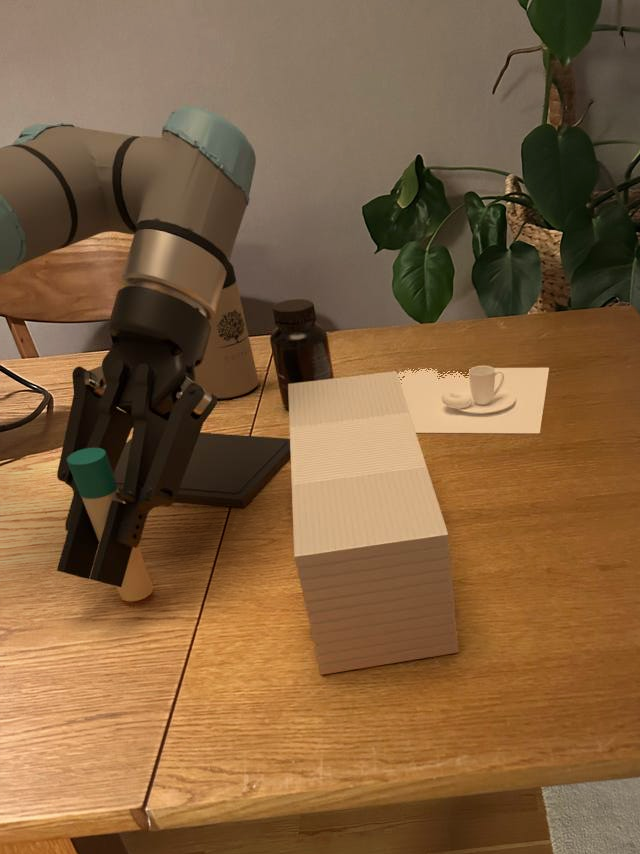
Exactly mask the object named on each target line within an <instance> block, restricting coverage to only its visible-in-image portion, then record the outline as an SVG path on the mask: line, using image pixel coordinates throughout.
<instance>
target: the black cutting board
mask: <svg viewBox="0 0 640 854" xmlns="http://www.w3.org/2000/svg"><path fill="white" fill-rule="evenodd" d="M131 440H132V438H130V439H129V440H127V442H126V444H125V447H124V449H123V451H122V454H121V456H120V459H119V461H118V464H117V466H116V469H115V471H114V473H113V474H114V477H115V479H116V482H117V487H118V490H119V492H123V488H124V482H125V476H126V470H127V464H128V458H129V452H130V446H131ZM289 460H291V453H290V438H287V437H272V436H271V437H270V436H259V435H257V436H256V435H243V434H242V435H241V434H230V433H229V434H227V433H216V432H215V433H213V432H200V434H199V437H198V439H197V442H196V445H195V447H194V450H193V453H192V455H191V458H190V461H189V464H188V466H187V469H186V472H185V474H184V477H183V480H182V483H181V485H180V488H179V491H178V493H177V496H176V499H175V501H174V503H185V504H197V505H205V506H206V505H207V506H217V507H228V508H240V509H245V508H246V507H247V506H248V505H249V504H250V503H251V502H252V501H253V499H254V498H255V497H256V496H257V495H258V494H259V493H260V492H261V491H262V489H264V487H265V486H266V485H267V484H268V483H269V482H270V481H271V480H272V479H273V478H274V477H275V475H277V473H278V472H279V471H281V469H282V468H283V467H284V466H285V465H286V464H287V463H288V461H289ZM162 488H163V487H161V489H162Z"/></svg>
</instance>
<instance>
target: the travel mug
mask: <svg viewBox="0 0 640 854" xmlns="http://www.w3.org/2000/svg"><path fill="white" fill-rule="evenodd" d="M209 323H210V326H211V333H210V336H209V340H208V343H207V347H206V351H205V354H204V358H203V361H202V363H201V364H200V365H199V366H197V367H194V371H195V378H196V379H195V383H196V384H198V385H200V386H201V387H202V388H204V389H205V390H207V391H208V392H210V393H211V394H213V395H214V396H216V397H217V400H226V399H232V398H238V397H240V396H243V395H247V394H248V393H250V392H251V391H252V390H254V389H255V388H257V387H258V385H259V383H260V382H259V375H258V371H257V367H256V363H255V359H254V354H253V350H252V345H251V341H250V335H249V331H248V327H247V323H246V318H245V314H244V309H243V305H242V299H241V295H240V290H239V287H238V282H237V277H236V272H235V268H234V266H233V264H232V263H231V262H230V261H229V267H228V269H227V273H226V278H225V281H224V285H223V288H222V292H221V295H220V299H219V302H218V306H217V309H216V313H215V316H214V318H213V319H211V320H209Z"/></svg>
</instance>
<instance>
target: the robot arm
mask: <svg viewBox="0 0 640 854" xmlns="http://www.w3.org/2000/svg"><path fill="white" fill-rule="evenodd" d="M161 128H162V130H161V136H160V137H155V136H148V135H142V136H139V135H130V134H124V133H118V132H110V131H103V130H97V129H90V128H84V127H80V126H75V125H74V124H70V123H63V122H62V123H59V124H43V123H36V124H32V125H29V126H27V127H24V128H23V129H22V131H20V134H19V136H18V138H17V139H16V140H14V141H13V143H12V144H10V145H9V144H8V145H6V146H3V147H0V275H4V274H7V273H10V272H12V271H13V270H15V269H17V268H18V267H19V266H22V265H23V264H25V263H28V262H30V261H32V260H36V259H38V258H40V257H43V256H45V255H47V254H49V253H52V252H54V251H57V250H58V251H59V250H61V249H64V248H67V247H70V246H72V245H74V244H77V243H80V242H83V241H84V240H88V239H89V238H93V237H94V236H97V235H99V234H102V233H108V232H109V233H111V232H113V233H121V234H128V235H133V238H132V241H131V244H130V248H129V250H128V254H127V257H126V261H125V264H124V267H123V270H122V274H121V278H120V279H121V283H122V286H123V287H122V288H119V290H118V291H117V293H116V297H115V299H114V302H113V303H114V304H113V307H112V310H111V314H110V316H109V320H108V324H107V330H108V333H109V335H110V338H111V347H110V348H109V350H108V352H107V353H106V355H104V357H103V360H102V362H101V365H100V366H96V367H94V368H92V369H89V370H88V369H86V368H84V367H82V366H80V365H79V366H76V367H75V368H74V369H73V370H72V374H71V375H72V387H73V396H72V401H71V405H70V411H69V415H68V420H67V425H66V430H65V435H64V439H63V444H62V445H63V446H62V448H61V454H60V458H59V463H58V468H57V472H56V475H57V476H56V478H57V480H58V481H60V482H63V483H65V484H66V485H67V486H69V487H70V488H71V490H72V495H73V496H72V499H71V503H70V505H69V510H68V513H67V516H66V520H65V523H64V524H65V525H64V530H65V531H66V532H67V533H66V537H65V540H64V544H63V547H62V550H61V555H60V558H59V561H58V564H57V567H56V572H60V573H64V574H66V575H67V574H68V575H71V576H75V577H79V578H82V579H87V580H92V581H95V582H99V583H102V584H106V585H110V586H114V587H116V586H118V587H122V583H123V580H124V576H125V573H126V569H127V566H128V562H129V559H130V555H131V551H132V548H133V547H134V548H137V546H139V545H140V543H141V540H142V537H143V533H144V529H145V526H146V523H147V518H148V516H149V513H150V512H151V511H153V509H154V508H157V507H165V508H170V507H172V506H173V505H174V503H175V502H174V501H175V499H176V496H177V493H178V491H179V488H180V485H181V483H182V480H183V477H184V474H185V472H186V469H187V466H188V464H189V461H190V458H191V455H192V453H193V450H194V447H195V445H196V442H197V439H198V437H199V434H200V433H201V432H202V431H201V430H202V428H203V425H204V424H205V421H206V420H207V419H208V417H209V416H210V415H211V413H213V411H214V409H215V408H216V407H217V405H218V399H217V397H216V396H214V395H213V394H211V393H210V392H208V391H207V390H205V389H204V388H202V387H201V386H200V385H198V384H196V383H195V379H196V378H195V371H194V367H197V366H199V365H200V364H201V363H202V361H203V358H204V354H205V351H206V347H207V343H208V340H209V336H210V333H211V326H210V323H209V320H211V319H213V318H214V316H215V313H216V309H217V306H218V302H219V299H220V295H221V292H222V288H223V285H224V281H225V278H226V273H227V269H228V267H229V262H230V261H231V257H232V252H233V250H234V247H235V243H236V240H237V236H238V233H239V231H240V228H241V225H242V222H243V218H244V216H245V213H246V209H247V207H248V206H249V203H250V199H251V198H250V192H251V188H252V183H253V179H254V174H255V169H256V165H257V164H256V163H257V158H256V153H255V150H254V147H253V145H252V144H251V143H250V142H249V140H248V138H247V136H246V134H244V133H243V131H242V130H241V129H240V128H239V127H238V126H237V125H235V124H234V123H233V122H231V121H230V120H229V119H228V118H225V117H224V116H223V115H220V114H219V113H217V112H215V111H212V110H210V109H206V108H204V107H200V106H196V105H183V106H181V107H180V108H178V109H175V110H172V111H171V112H170V114H169V115H168V117H167V120H166V123H165V124H164V125H163V126H162V127H161ZM131 432H132V435H131ZM130 435H131V439H132V440H131V446H130V452H129V458H128V464H127V470H126V476H125V482H124V488H123V492H118V493H117V492H115V495H116V498H117V499H119V500H121V501H123V503H121V502H118V501H113V500H112V502H111V505H110V509H109V512H108V516H107V519H106V523H105V526H104V530H103V533H102V537H101V541H100V543H99V541H98V538H97V536H96V533H95V530H94V528H93V525H92V523H91V520H90V518H89V515H88V512H87V510H86V507H85V505H84V502H83V500H82V497H81V495H80V494H79V491H78V489H77V486H76V483H75V481H74V478H73V476H72V473H71V471H70V468H69V465H68V463H67V458H68V456H69V455H71V454H72V453H74V452H76V451H79V450H82V449H86V448H101V449H104V450H105V451H106V454H107V457H108V460H109V462H110V465H111V468H112V471H113V473H114V471H115V469H116V466H117V464H118V461H119V459H120V456H121V454H122V451H123V449H124V447H125V444H126V443H127V442H128V439H129V436H130ZM161 487H163V488H162V489H161Z"/></svg>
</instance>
